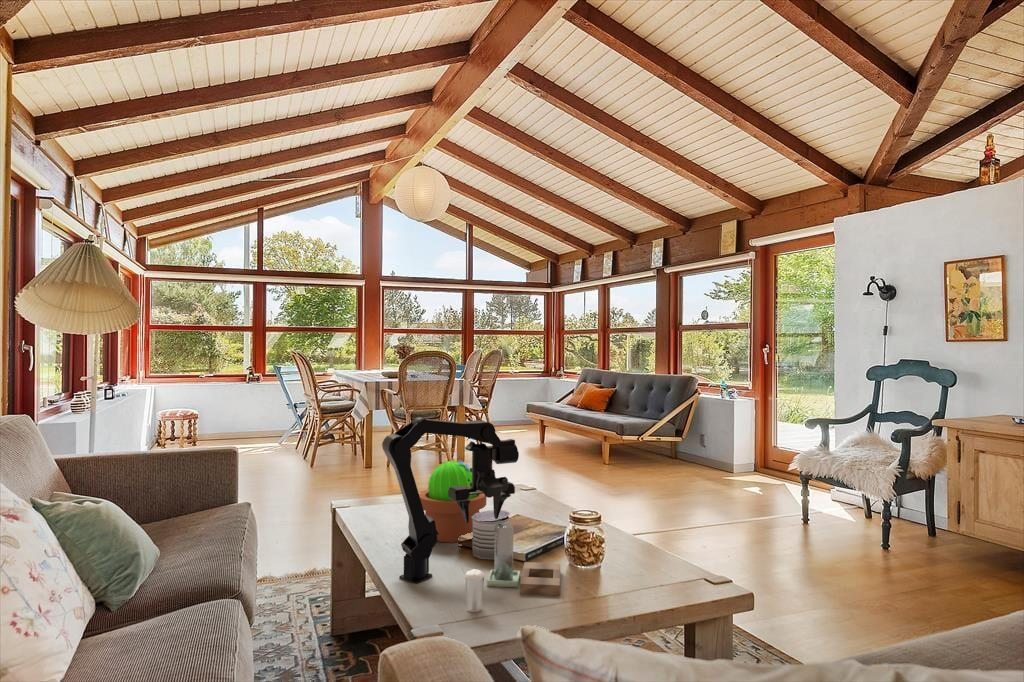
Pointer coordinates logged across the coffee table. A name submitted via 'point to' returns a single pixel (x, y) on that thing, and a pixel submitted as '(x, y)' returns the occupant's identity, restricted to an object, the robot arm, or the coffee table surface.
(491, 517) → the can
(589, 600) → the coffee table surface
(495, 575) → the steel cylinder
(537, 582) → the pocket block
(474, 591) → the milkshake
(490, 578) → the tray
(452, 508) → the potted cactus
